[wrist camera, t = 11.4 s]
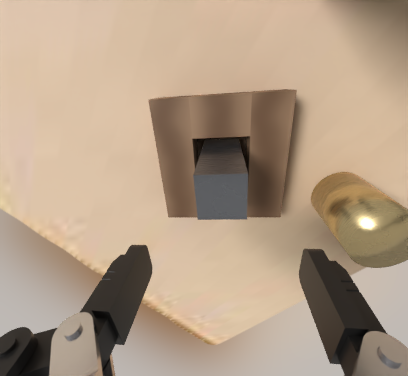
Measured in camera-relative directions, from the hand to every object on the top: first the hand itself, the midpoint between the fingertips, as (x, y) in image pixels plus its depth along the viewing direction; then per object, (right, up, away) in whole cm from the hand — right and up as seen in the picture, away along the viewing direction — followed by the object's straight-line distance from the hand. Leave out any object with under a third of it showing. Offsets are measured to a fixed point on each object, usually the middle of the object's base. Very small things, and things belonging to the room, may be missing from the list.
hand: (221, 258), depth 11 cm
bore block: (+1, +8, +15) cm, 17 cm away
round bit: (+17, +3, +16) cm, 23 cm away
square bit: (+1, +8, +15) cm, 17 cm away
